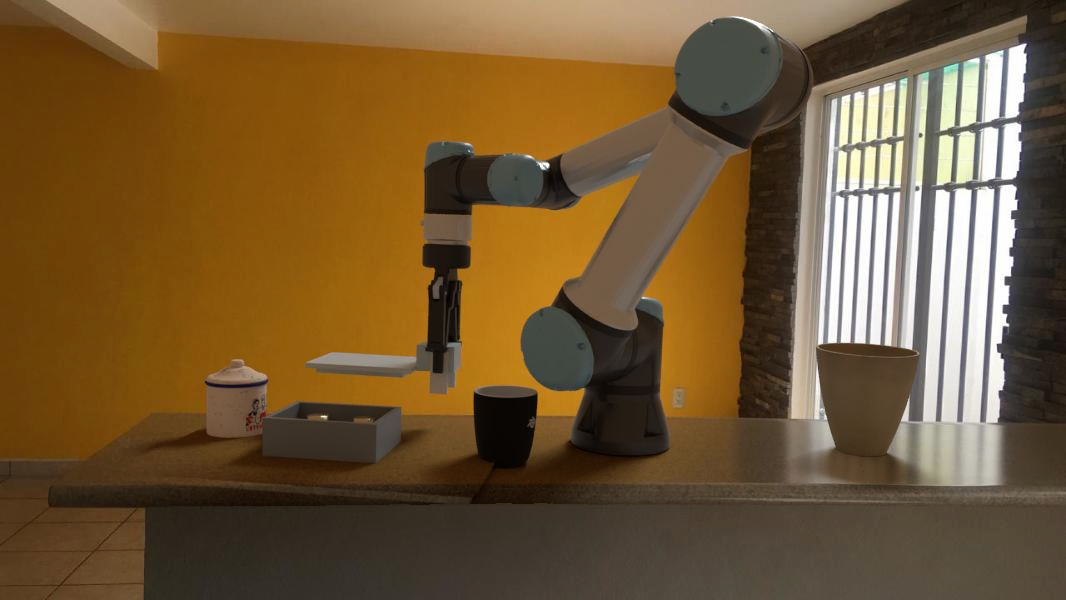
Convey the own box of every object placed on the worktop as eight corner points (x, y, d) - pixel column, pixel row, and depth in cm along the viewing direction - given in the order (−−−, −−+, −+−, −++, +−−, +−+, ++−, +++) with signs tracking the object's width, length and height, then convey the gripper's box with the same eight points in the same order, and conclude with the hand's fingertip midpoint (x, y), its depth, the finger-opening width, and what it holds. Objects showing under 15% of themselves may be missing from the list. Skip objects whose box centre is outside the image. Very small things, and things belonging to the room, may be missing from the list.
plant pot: (795, 438, 141) (800, 341, 140) (882, 439, 142) (888, 343, 141) (835, 463, 126) (841, 355, 125) (932, 464, 127) (939, 356, 126)
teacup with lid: (257, 444, 127) (257, 365, 126) (195, 442, 127) (195, 363, 126) (281, 425, 139) (281, 353, 138) (224, 424, 139) (224, 352, 138)
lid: (464, 369, 142) (465, 340, 142) (448, 381, 131) (449, 350, 130) (332, 361, 145) (332, 333, 144) (305, 372, 133) (305, 342, 133)
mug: (535, 472, 117) (537, 398, 116) (468, 469, 117) (470, 395, 116) (536, 449, 129) (538, 382, 128) (476, 447, 129) (478, 380, 128)
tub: (400, 447, 128) (401, 407, 127) (375, 468, 116) (376, 424, 116) (297, 440, 130) (297, 401, 129) (262, 461, 118) (262, 417, 118)
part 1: (330, 440, 127) (331, 413, 127) (323, 445, 124) (323, 418, 124) (311, 439, 127) (311, 412, 127) (303, 444, 124) (303, 417, 124)
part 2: (377, 443, 126) (377, 416, 126) (370, 448, 123) (371, 421, 123) (357, 442, 127) (357, 415, 126) (350, 447, 124) (350, 419, 123)
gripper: (437, 241, 144) (433, 379, 146) (407, 242, 126) (404, 399, 128) (481, 242, 143) (477, 381, 145) (458, 244, 125) (453, 402, 127)
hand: (442, 389), depth 137 cm, fingers closed on lid, 5 cm apart
